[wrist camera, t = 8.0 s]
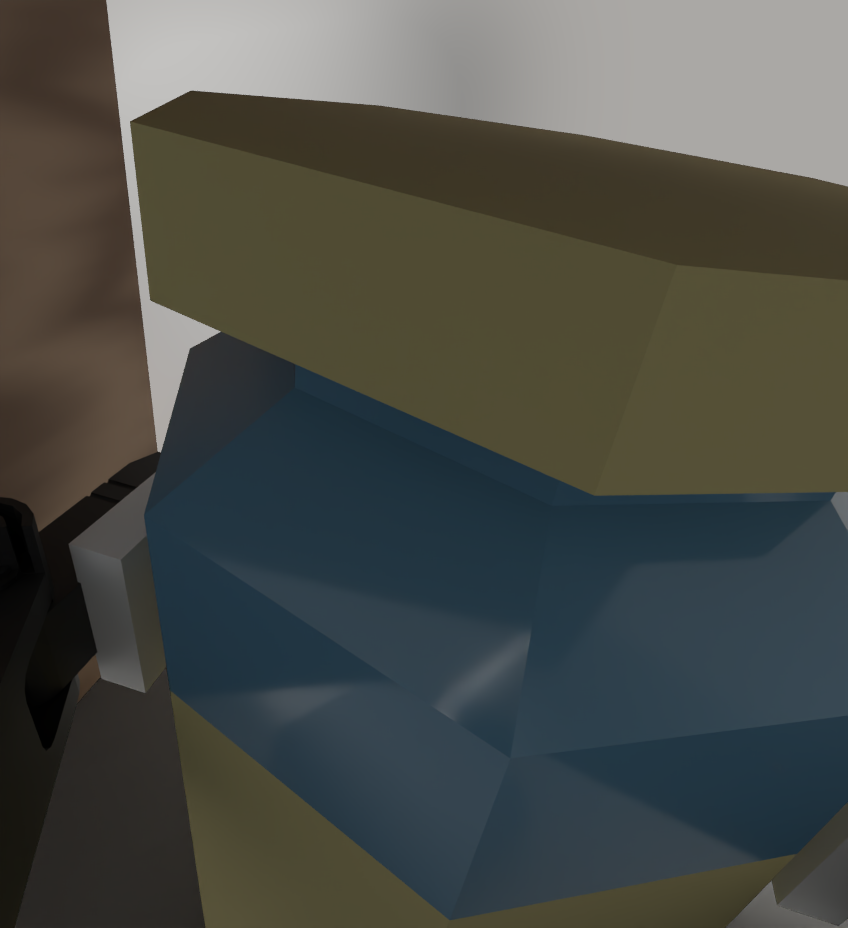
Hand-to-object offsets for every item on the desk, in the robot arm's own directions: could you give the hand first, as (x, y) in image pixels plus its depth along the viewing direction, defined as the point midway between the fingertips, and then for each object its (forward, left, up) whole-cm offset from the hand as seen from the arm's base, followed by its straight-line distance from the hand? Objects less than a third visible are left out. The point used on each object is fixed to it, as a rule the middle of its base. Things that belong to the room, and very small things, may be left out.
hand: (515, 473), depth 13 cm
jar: (+3, +3, -9) cm, 10 cm away
